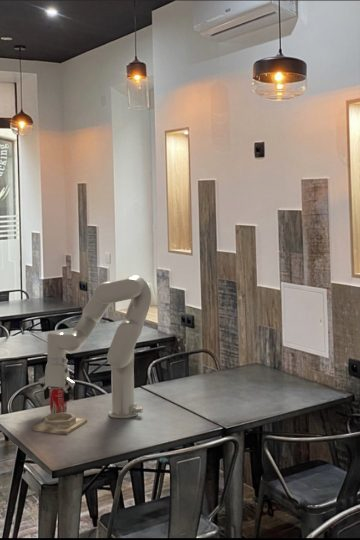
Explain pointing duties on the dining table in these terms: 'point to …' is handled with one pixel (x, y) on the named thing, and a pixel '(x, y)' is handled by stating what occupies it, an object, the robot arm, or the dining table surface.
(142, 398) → the dining table surface
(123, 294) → the robot arm
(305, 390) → the dining table surface
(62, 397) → the soda can
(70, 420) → the drink holder
